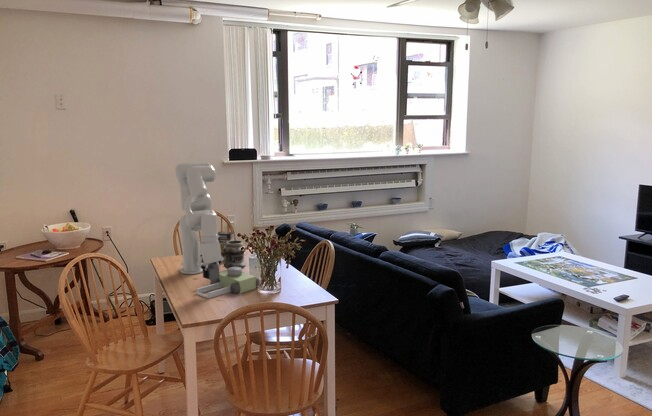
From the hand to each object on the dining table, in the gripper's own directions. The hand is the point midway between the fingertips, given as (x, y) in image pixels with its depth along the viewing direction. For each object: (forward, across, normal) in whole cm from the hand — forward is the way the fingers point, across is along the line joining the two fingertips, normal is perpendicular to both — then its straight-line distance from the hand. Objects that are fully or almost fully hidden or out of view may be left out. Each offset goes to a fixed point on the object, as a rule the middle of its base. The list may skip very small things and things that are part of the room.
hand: (211, 276), depth 243 cm
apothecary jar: (+9, -27, -16) cm, 33 cm away
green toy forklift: (+9, -8, 0) cm, 12 cm away
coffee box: (+8, -43, -45) cm, 63 cm away
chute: (+1, 0, 0) cm, 1 cm away
